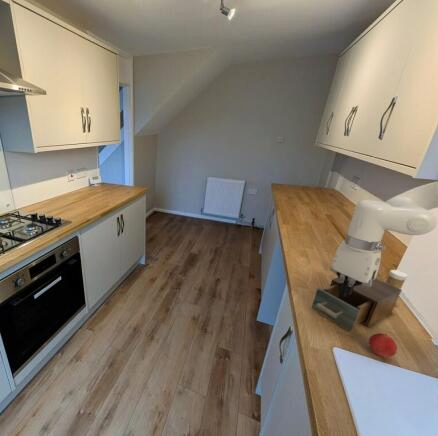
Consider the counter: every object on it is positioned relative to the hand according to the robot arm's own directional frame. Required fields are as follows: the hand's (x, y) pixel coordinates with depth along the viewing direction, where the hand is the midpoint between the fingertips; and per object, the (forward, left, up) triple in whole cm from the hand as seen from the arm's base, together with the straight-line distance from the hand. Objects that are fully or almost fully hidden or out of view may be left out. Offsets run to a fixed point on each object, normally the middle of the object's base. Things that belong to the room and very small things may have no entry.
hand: (344, 294), depth 76 cm
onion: (-12, 0, -13) cm, 18 cm away
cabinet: (+2, -18, -13) cm, 23 cm away
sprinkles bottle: (-1, -32, -13) cm, 35 cm away
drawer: (+2, -6, -12) cm, 14 cm away
